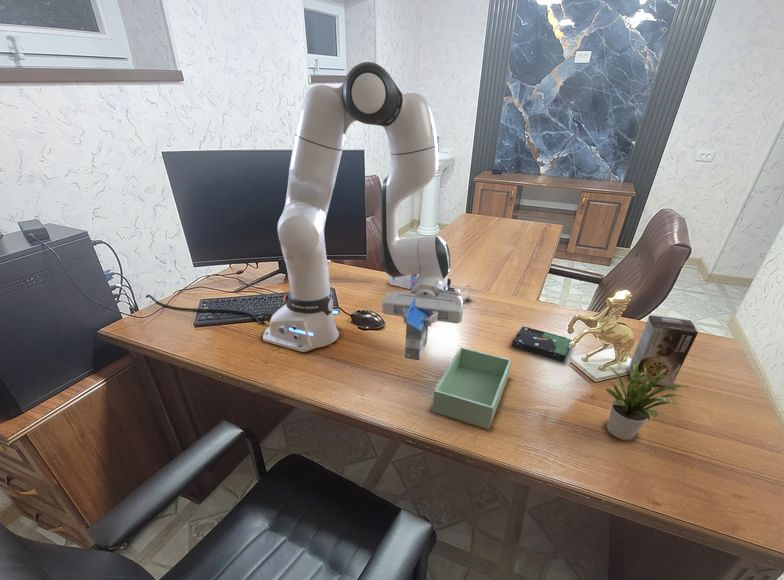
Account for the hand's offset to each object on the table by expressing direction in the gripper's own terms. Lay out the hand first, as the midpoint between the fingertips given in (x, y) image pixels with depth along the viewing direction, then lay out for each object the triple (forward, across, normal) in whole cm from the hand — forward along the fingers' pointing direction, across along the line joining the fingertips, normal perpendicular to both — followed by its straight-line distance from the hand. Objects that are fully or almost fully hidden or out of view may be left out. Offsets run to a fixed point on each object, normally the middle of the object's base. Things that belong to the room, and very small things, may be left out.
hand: (417, 322), depth 92 cm
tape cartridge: (-1, 0, +9) cm, 9 cm away
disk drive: (-23, +33, +16) cm, 44 cm away
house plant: (+9, +48, +16) cm, 52 cm away
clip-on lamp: (-51, +3, +17) cm, 54 cm away
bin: (+4, +15, +16) cm, 22 cm away
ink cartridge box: (-57, -15, +17) cm, 61 cm away
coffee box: (-15, +59, +16) cm, 63 cm away
